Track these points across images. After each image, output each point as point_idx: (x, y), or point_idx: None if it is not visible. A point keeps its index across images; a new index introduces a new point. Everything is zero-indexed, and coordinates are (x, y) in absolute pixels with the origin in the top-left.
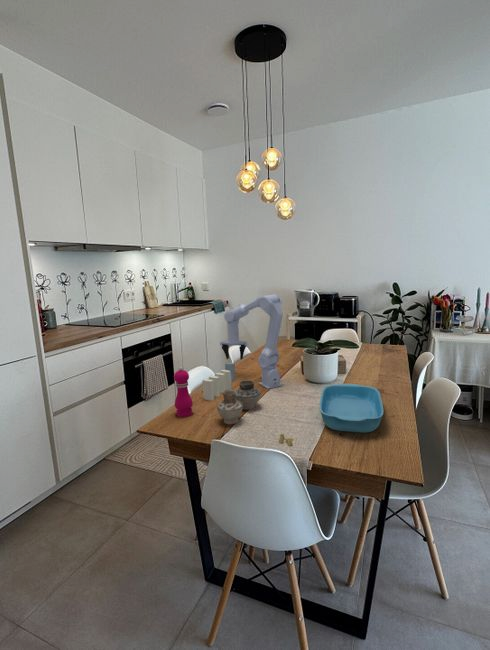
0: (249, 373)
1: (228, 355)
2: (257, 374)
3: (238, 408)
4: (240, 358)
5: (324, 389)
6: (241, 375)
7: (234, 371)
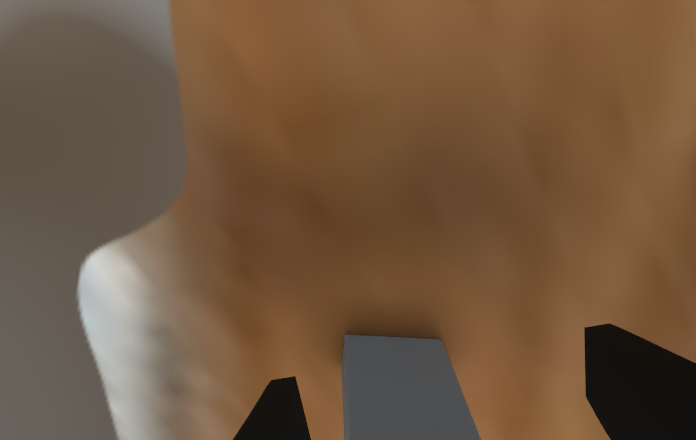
0: (516, 61)
1: (291, 434)
2: (636, 68)
3: None
4: (600, 417)
5: None
6: (441, 171)
7: (467, 418)
